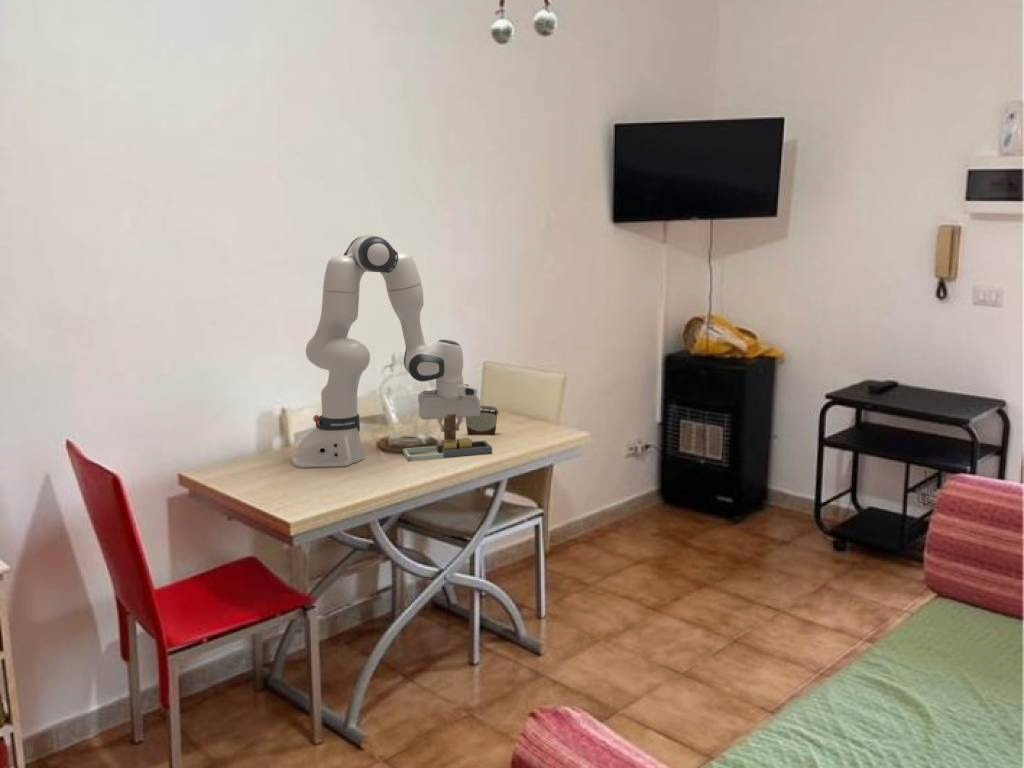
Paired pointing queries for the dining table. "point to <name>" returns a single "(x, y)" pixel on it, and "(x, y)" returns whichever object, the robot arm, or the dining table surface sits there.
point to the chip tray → (422, 457)
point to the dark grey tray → (467, 450)
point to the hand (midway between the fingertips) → (449, 430)
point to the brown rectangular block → (450, 427)
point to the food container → (483, 422)
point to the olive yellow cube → (464, 443)
